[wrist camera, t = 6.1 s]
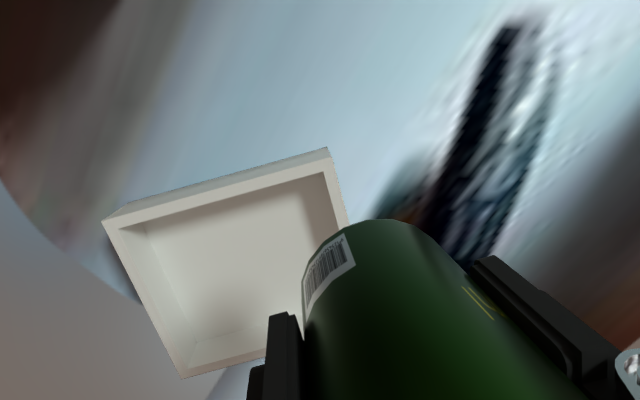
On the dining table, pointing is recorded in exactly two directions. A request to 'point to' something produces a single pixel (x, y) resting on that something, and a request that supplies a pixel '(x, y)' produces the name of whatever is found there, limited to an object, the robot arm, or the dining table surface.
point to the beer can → (412, 326)
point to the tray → (228, 255)
